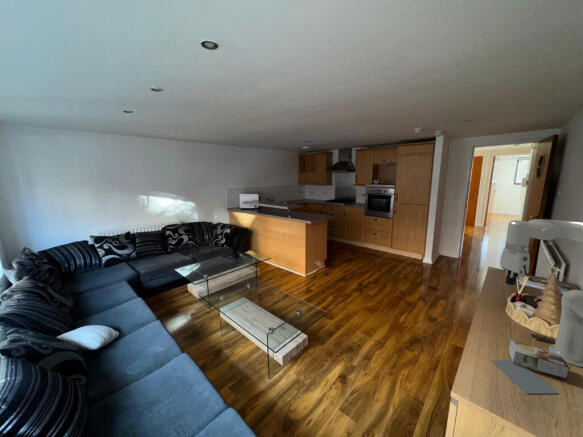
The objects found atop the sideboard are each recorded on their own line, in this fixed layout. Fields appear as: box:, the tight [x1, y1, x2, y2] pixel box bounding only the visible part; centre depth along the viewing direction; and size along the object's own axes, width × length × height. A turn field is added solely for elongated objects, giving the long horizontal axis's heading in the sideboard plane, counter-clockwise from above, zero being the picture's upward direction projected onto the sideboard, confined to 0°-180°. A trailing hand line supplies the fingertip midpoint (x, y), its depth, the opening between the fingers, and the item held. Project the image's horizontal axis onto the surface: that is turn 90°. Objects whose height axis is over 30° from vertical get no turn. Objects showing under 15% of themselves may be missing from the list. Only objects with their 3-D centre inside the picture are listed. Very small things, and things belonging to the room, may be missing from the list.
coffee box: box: [508, 339, 570, 381], centre depth 100 cm, size 9×6×16 cm
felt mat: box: [490, 359, 559, 395], centre depth 95 cm, size 12×16×1 cm
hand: (510, 284), depth 109 cm, fingers closed
